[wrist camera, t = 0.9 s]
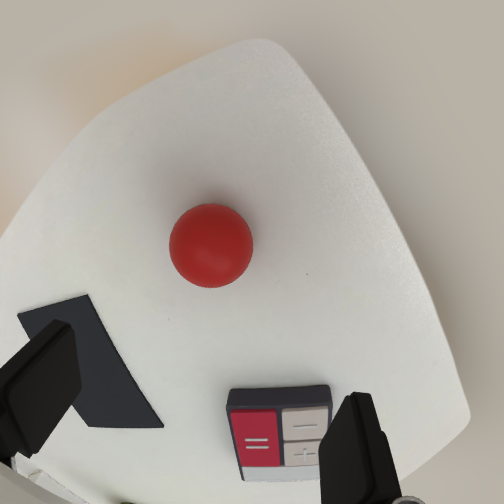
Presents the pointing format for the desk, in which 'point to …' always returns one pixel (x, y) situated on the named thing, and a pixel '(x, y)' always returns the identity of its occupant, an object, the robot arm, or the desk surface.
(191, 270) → the red ball
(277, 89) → the desk surface
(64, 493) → the tissue box
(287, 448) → the calculator
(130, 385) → the side mat
